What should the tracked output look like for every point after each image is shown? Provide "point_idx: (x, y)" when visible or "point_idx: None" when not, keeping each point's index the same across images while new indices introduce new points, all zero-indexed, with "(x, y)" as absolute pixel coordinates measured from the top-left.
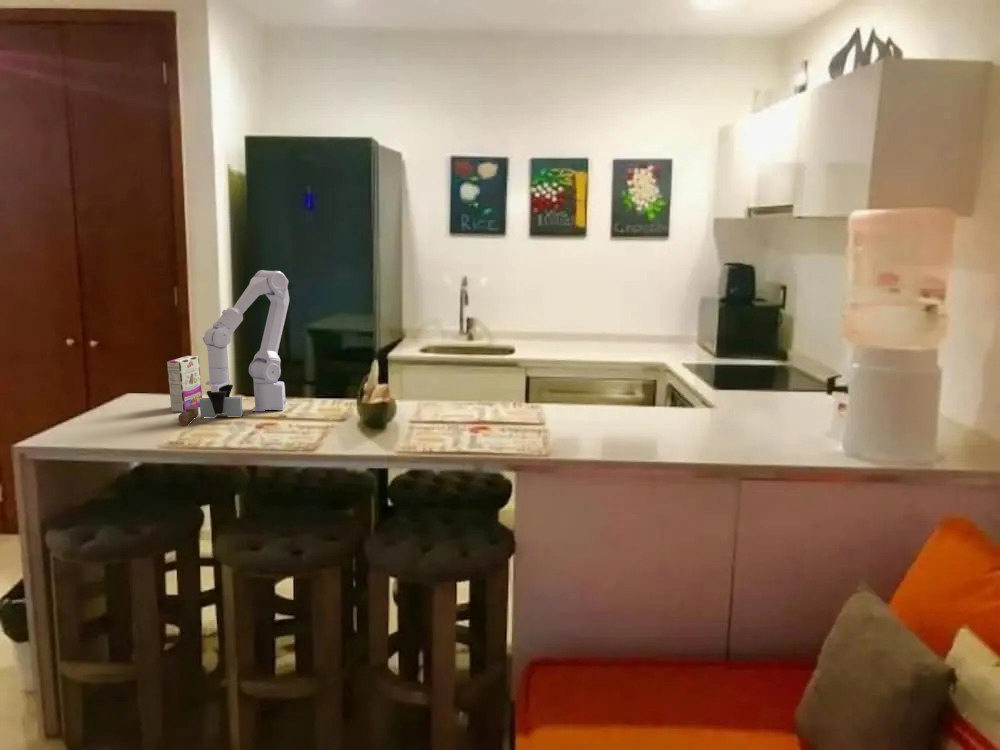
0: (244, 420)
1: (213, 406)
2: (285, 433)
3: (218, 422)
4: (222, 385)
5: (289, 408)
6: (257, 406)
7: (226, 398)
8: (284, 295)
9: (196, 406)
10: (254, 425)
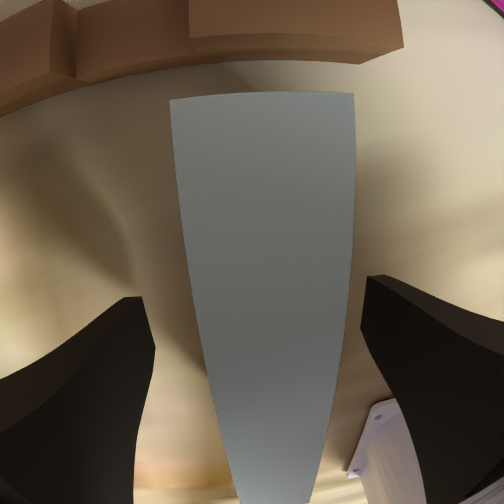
0: (155, 419)
1: (79, 337)
2: None
3: (79, 306)
4: None
5: None
6: (396, 429)
7: (237, 464)
8: None
9: (366, 32)
10: None
